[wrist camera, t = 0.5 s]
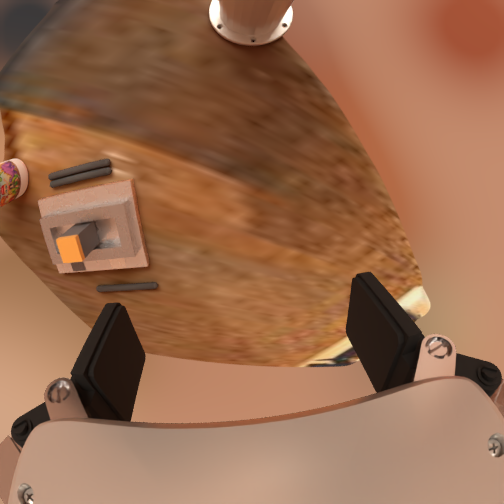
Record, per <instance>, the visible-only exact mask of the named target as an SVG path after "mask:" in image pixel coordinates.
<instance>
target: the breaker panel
mask: <svg viewBox="0 0 504 504" xmlns="http://www.w3.org/2000/svg"><path fill="white" fill-rule="evenodd" d="M38 204H39V209H40V213H41V216H42V218H40V219H39V220H40V224H41V227H42V231H43V234H44V238H45V241H46V244H47V247H48V250H49V253H50V256H51V259H52V262H53V264H56V265H57V268H58V271H59V273H71V272H84V271H97V270H110V269H123V268H135V267H147V266H148V265H149V263H150V261H149V257H148V252H147V248H146V244H145V239H144V234H143V230H142V225H141V220H140V215H139V209H138V204H137V198H136V192H135V186H134V180H133V179H128V180H123V181H117V182H112V183H106V184H101V185H96V186H92V187H87V188H82V189H78V190H74V191H69V192H65V193H61V194H57V195H53V196H49V197H45V198H42V199H40V200H38ZM89 221H94V223H95V227H96V231H97V235H98V238H99V243H98V245H97V246H96V247H95V248H94V249H93V250H92V251H91V252H90V253H89V255H88V256H87V257H86V258H85V259H84V260H83V261H82V262H72V263H63V261H62V258H61V255H60V252H59V249H58V245H57V242H56V239H58V238H59V237H60V236H61V235H62V234H64V233H65V232H66V231H67V230H68V229H70V228H71V227H72V226H73V225H74V224H76V223H82V222H89Z"/></svg>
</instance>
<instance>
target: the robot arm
mask: <svg viewBox="0 0 504 504" xmlns="http://www.w3.org/2000/svg"><path fill="white" fill-rule="evenodd" d="M293 1H294V0H219V1H218V0H212V2H211V4H210V7H209V19H210V22H211V25H212V26H213V28H214V30H215V31H216V32H217V33H218V34H219V35H220V36H222V37H223V38H225V39H226V40H228V41H230V42H233V43H236V44H240V45H246V46H258V45H264V44H268V43H271V42H273V41H275V40H277V39H279V38H280V37H282V36H283V35H284V34H285V33H286V32H287V30H288V29H289V27H290V25H291V23H292V20H293V10H292V7H291V4H292V3H293ZM282 26H284V27H285V28H283V27H282ZM219 27H221V29H218V28H219ZM252 40H254V41H255V42H251V41H252ZM346 333H347V336H348V338H349V340H350V342H351V344H352V346H353V348H354V350H355V351H356V353H357V355H358V357H359V359H360V361H361V363H362V365H363V367H364V369H365V371H366V373H367V375H368V377H369V378H370V381H371V383H372V385H373V387H374V389H375V391H376V392H377V393H376V394H372V395H369V396H365V397H361V398H358V399H354V400H350V401H347V402H343V403H339V404H335V405H331V406H326V407H322V408H317V409H313V410H308V411H303V412H297V413H291V414H285V415H279V416H273V417H265V418H257V419H250V420H240V421H227V422H211V423H145V422H130V421H131V417H132V412H133V408H134V404H135V399H136V395H137V390H138V386H139V382H140V378H141V374H142V370H143V366H144V362H145V352H144V350H143V348H142V346H141V343H140V341H139V339H138V337H137V334H136V332H135V330H134V327H133V325H132V323H131V320H130V318H129V315H128V313H127V310H126V308H125V306H122V305H121V304H120V303H107V304H106V305H105V307H104V308H103V310H102V312H101V314H100V316H99V317H98V319H97V321H96V323H95V325H94V327H93V329H92V331H91V333H90V334H89V336H88V338H87V340H86V342H85V344H84V346H83V348H82V350H81V352H80V354H79V356H78V358H77V360H76V362H75V365H74V367H73V369H72V371H71V375H72V377H71V379H68V378H58V379H56V380H54V381H53V382H51V383H50V384H49V385H48V386H47V388H46V390H45V393H44V399H45V402H44V403H42V404H41V405H39V406H37V407H36V408H34V409H32V410H31V411H29V412H27V413H26V414H24V415H22V416H20V417H19V418H18V419H17V420H16V421H15V422H14V423H13V426H12V429H11V435H12V437H10V436H7V437H6V438H5V440H4V441H3V442H2V443H1V444H0V497H1V499H2V501H3V502H4V503H5V504H504V380H503V379H502V376H501V372H500V370H499V369H498V368H497V366H495V365H494V364H492V363H490V362H487V361H483V360H479V359H475V358H472V357H468V356H465V355H461V354H457V353H456V348H455V345H454V343H453V342H452V341H451V340H450V339H449V338H448V337H446V336H443V335H440V334H431V335H428V336H426V337H424V335H423V334H422V332H421V330H420V329H419V328H418V327H417V325H416V324H415V323H414V322H413V320H412V319H411V318H410V317H409V316H408V314H407V313H406V312H405V311H404V310H403V308H402V307H401V306H400V305H399V304H398V303H397V301H396V300H395V299H394V298H393V297H392V296H391V294H390V293H389V292H388V291H387V290H386V289H385V287H384V286H383V285H382V284H381V283H380V282H379V281H378V280H377V278H376V277H375V276H374V275H373V274H372V273H371V272H365V273H359V274H357V275H356V277H355V278H353V279H352V285H351V294H350V302H349V310H348V317H347V324H346Z"/></svg>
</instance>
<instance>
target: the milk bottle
mask: <svg viewBox="0 0 504 504" xmlns="http://www.w3.org/2000/svg"><path fill="white" fill-rule="evenodd" d="M27 185H28V171H27V168H26V166H25V164H24V163H23V162H22V161H21V160H19V159H11V160H8V161H5V162H2V163H0V207H2V206H3V205H5V204H7V203H9V202H11V201H12V200H14V199H16V198H18V197H20V196H21V195H22V194H23V193H24V192H25V190H26V188H27Z"/></svg>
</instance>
